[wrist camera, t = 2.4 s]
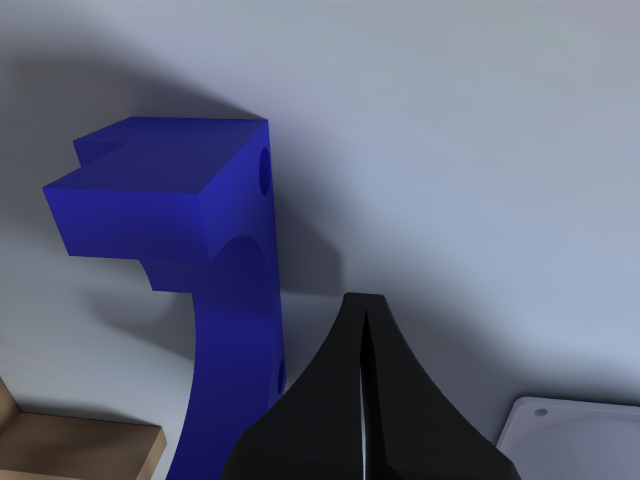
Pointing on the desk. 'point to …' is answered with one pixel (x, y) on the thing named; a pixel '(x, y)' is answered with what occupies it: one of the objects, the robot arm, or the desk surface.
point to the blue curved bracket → (191, 256)
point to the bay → (74, 447)
